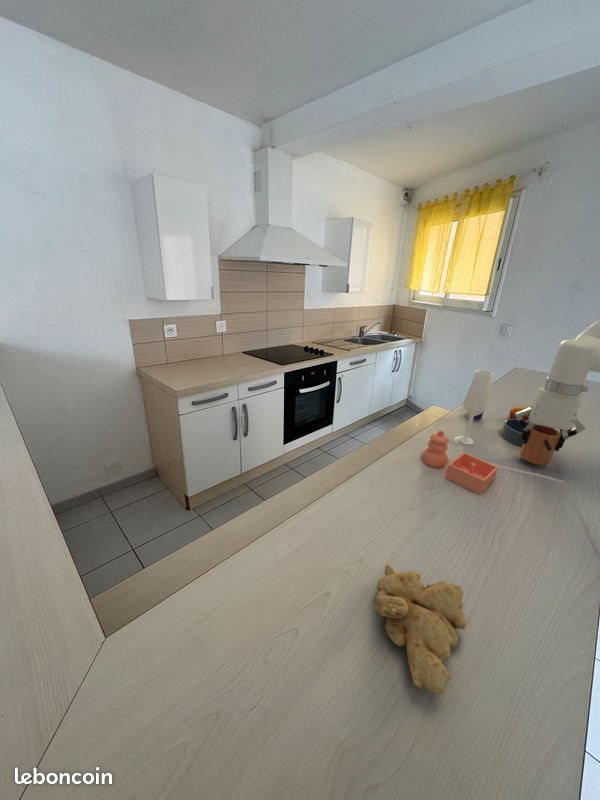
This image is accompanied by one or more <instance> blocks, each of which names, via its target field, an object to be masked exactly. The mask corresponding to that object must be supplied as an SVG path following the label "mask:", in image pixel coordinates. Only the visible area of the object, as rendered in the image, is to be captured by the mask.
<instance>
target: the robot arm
mask: <svg viewBox="0 0 600 800" xmlns="http://www.w3.org/2000/svg"><path fill="white" fill-rule="evenodd" d="M590 372H594V373H600V319H598V320H597V321H595V322H594V323H592V324H590V326H589V327H587V328H585V330H584V331H582V332H581V333H580V334H579V335H577V336H576V338H575V339H573V338H572V339H571V338H570V339H565V340H563V341H561V342H560V344H559V346H558V348H557V352H556V354H555V357H554V359H553V361H552V364H551V367H550V369H549V372H548V375H547V378H546V380H545V383H544V386H540V387H539V388H538V390H537V391H536V393H535V394H534V396H533V398H532V400H531V402H530V404H529V406H528V409H525V410H522V411H519V412H517V413H515V416H516V418H517V420H518V421H519V423H520V425H521V426H522V427H523V430H522V433H521V436H520V439H522V442H523V444H526V443H527V440H528V437H529V435H530V431H529V430H530V429H531V428H532V427H533V426H535V425H540V426H545V427H550V428H554V429H555V430H558V431H559V432H560V434H561V436H560V439H559V441H558V443H557V446H556V448H555V451H554V452H559V451H560V449H562V448H563V446H564V444H565V441H566V440H568V439H569V438H571V437H574V436H576V435H577V434H579V433H581V432H583V431H585V430H586V426H584V425H583V423H582V422H581V421H580V420H579V419H578V418H577V417H578V414H579V410H580V406H581V401H582V400H581V399H582V396H581V393H583V392H584V393H587V392H588V391H589V387H588V386H586V385H584V383H585V382H586V381H585V380H586V379H587V376H588V374H589V373H590ZM525 415H526V416H527V417H528V418H529V420H528V421H526V422H525V421H524V420H523V418H522V417H523V416H525ZM574 426H575V427H574Z"/></svg>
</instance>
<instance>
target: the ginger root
mask: <svg viewBox="0 0 600 800" xmlns="http://www.w3.org/2000/svg"><path fill="white" fill-rule="evenodd" d="M383 572H384V575H383V576H381V577H379V578H378V579H377V581H376V582H377V583H376V589H377V594H376V595H375V603H374V607H375V612H376V613H377V614H379V615H380V616H381V617H384V618H385V617H386V621H385V626H384V627H385V628H384V629H385V631H386V632H385V633H386V634H387V636H388V637H389V638H390V640H391V641H392V643H393V644H394V645H396V646H397V647H406V648H405V649H406V654H407V655H406V656H407V663H408V666H409V670H410V675H411V678H412V682H413V685H414V687H416V688H418V689H420V688H422V687H424V688H425V689H426V690H427V691H428V692H430V693H432V694H437V695H442V694H443V693H444V691H445V690H446V686H447V684H448V682H450V680H451V675H450V673H449V671H448V670H447V667H446V666H445V665H444V663H445V662H446V661H447V660H448V658H450V657H451V651H452V650H451V649H455V648H457V646H458V645H457V643H458V640H459V636H458V633H457V629H459V630H466V627H467V618H466V616H465V613H464V612H463V610H462V608H464V601H463V596H464V590H463V588H462V587H461V586H460V585H457V584H454V583H451V582H446V581H445V580H443V579H442V580H441V581H438V582H436V583H432V584H426V586H425V585H424V584H423V582H421V574H420V573H418V572H416V571H415V570H409V571H405V572H404V571H400V572H398V573H397V572H396V570H395V569H394V568H393V567H392V566H390V565H389V564H386V565H385V566H384V571H383Z"/></svg>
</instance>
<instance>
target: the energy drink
mask: <svg viewBox="0 0 600 800" xmlns="http://www.w3.org/2000/svg"><path fill="white" fill-rule="evenodd" d="M484 413H485V411H484V412H483V413H481V414H479V415H476V416H474V418H473V422H474V423H481V422H482V420H483V416H484ZM469 417H470V414H468V412H467V411H466V414H465V419H466V420H468V421H469ZM473 422H472V423H473Z"/></svg>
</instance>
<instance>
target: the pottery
mask: <svg viewBox="0 0 600 800" xmlns="http://www.w3.org/2000/svg"><path fill="white" fill-rule="evenodd" d="M449 441H450V439H449V437H448V436H447V435H445V431H442V430H437V432H434V433H432V434H431V435H430V439H429V440H428V442H427V448H425V449H424V451H423V452H422V460H423V462H424V464H426V465H428V466H429V467H432V468H438V469H439V468H444V467H445V465H446V463H448V455H447V452H446V451H447V450H448V448H449V445H448V443H449ZM498 470H499V467H498V466H496V465H494V464H492V463H489V462H488V461H485V460H482V459H481V458H477V457H475V456H473V455H471V454H468V453H466V452H463V453H461V454H460V455H459V456H457V457H456V458H454V459H453V460H452V461H450V462H449V463H448V465H447V469H446V472H445V476H444V478H446V479H447V480H450V481H451V482H453V483H456V484H458V485H460V486H462V487H463V488H465V489H467V490H469V491H472V492H474V493H475V494H477V495H481V494H482V493H484V491H485V490H486V489H487V488H488V487H489V486H490V485H491V484H492V483H493V482H494V481H495V479H496V475H497V472H498Z"/></svg>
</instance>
